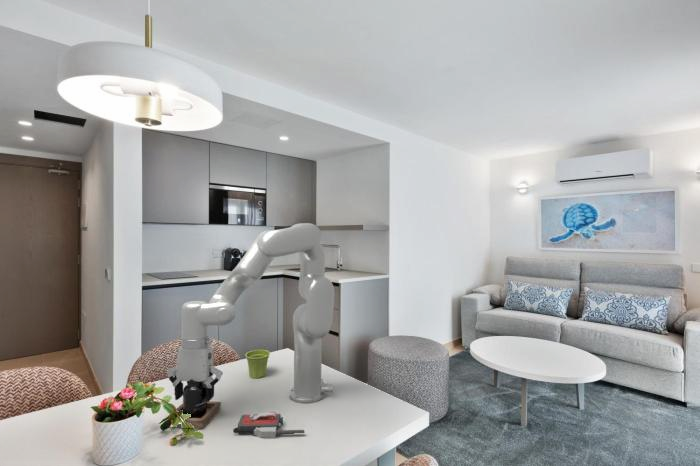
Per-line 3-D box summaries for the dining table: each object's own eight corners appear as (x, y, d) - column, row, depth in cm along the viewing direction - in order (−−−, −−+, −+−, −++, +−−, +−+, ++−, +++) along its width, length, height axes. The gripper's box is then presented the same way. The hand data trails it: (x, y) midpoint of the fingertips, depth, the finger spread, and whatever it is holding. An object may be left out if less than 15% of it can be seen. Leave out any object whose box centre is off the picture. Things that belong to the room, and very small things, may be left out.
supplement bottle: (201, 421, 104) (201, 380, 104) (178, 421, 104) (178, 380, 104) (210, 409, 111) (211, 371, 111) (189, 409, 111) (189, 371, 111)
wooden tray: (220, 409, 112) (220, 401, 112) (202, 429, 101) (202, 420, 101) (186, 407, 113) (186, 399, 113) (164, 427, 102) (164, 418, 102)
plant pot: (266, 380, 135) (266, 358, 135) (241, 380, 135) (242, 357, 135) (272, 371, 144) (272, 349, 144) (249, 370, 144) (249, 349, 144)
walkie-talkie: (230, 440, 96) (304, 438, 98) (230, 424, 96) (304, 422, 98) (238, 423, 105) (306, 421, 106) (238, 408, 105) (306, 407, 106)
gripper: (227, 339, 110) (227, 394, 110) (175, 337, 112) (174, 391, 112) (216, 347, 103) (215, 406, 103) (160, 345, 104) (159, 403, 104)
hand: (194, 398), depth 107 cm, fingers open, 9 cm apart
